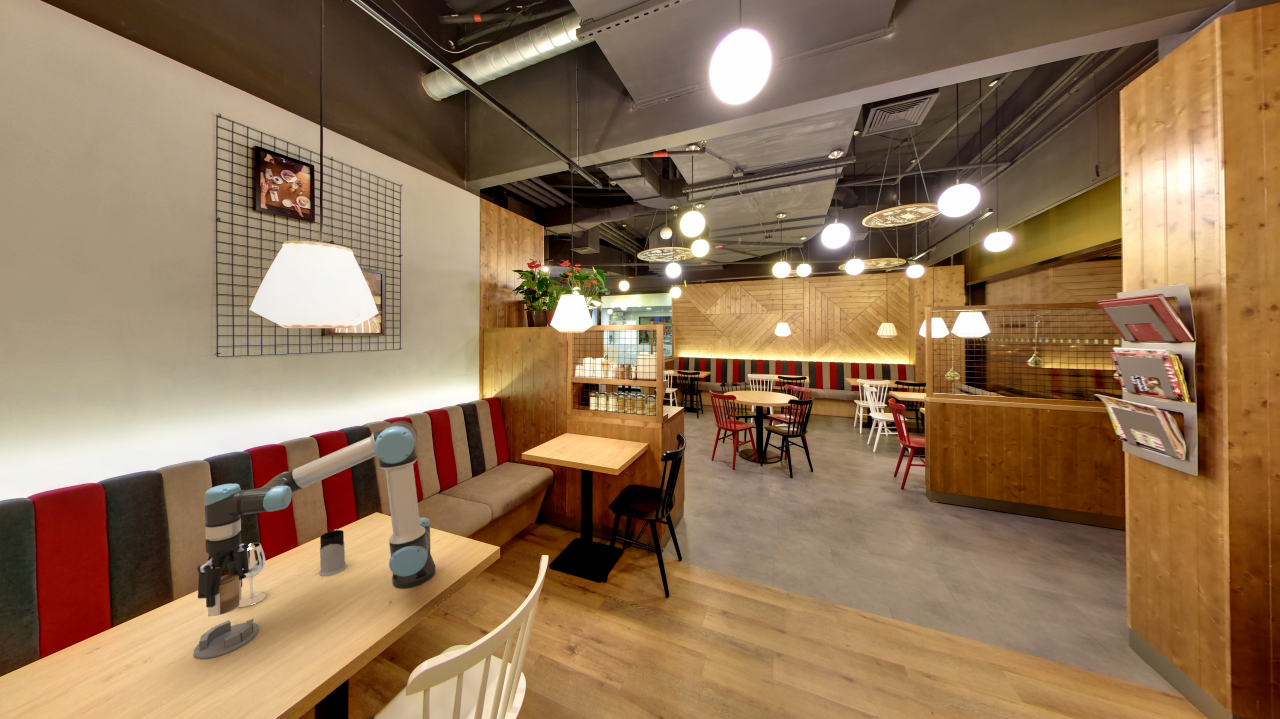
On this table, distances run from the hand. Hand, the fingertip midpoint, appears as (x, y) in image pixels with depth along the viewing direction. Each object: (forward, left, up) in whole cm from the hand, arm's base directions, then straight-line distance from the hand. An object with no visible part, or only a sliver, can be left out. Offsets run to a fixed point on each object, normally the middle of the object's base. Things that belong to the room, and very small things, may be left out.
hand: (225, 607), depth 120 cm
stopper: (0, 0, 0) cm, 0 cm away
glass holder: (-5, -40, -11) cm, 42 cm away
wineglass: (+10, -20, -11) cm, 25 cm away
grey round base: (0, 0, -11) cm, 11 cm away
